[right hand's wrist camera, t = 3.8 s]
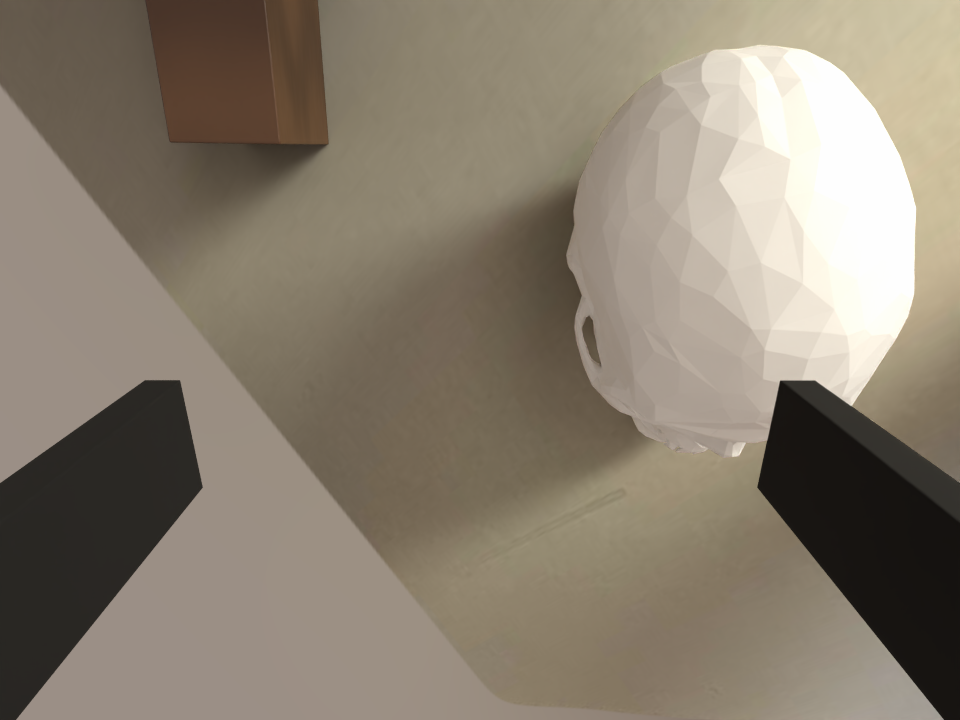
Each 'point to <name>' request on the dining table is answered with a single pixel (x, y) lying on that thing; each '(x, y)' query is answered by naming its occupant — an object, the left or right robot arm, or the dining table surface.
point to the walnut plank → (240, 70)
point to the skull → (739, 245)
